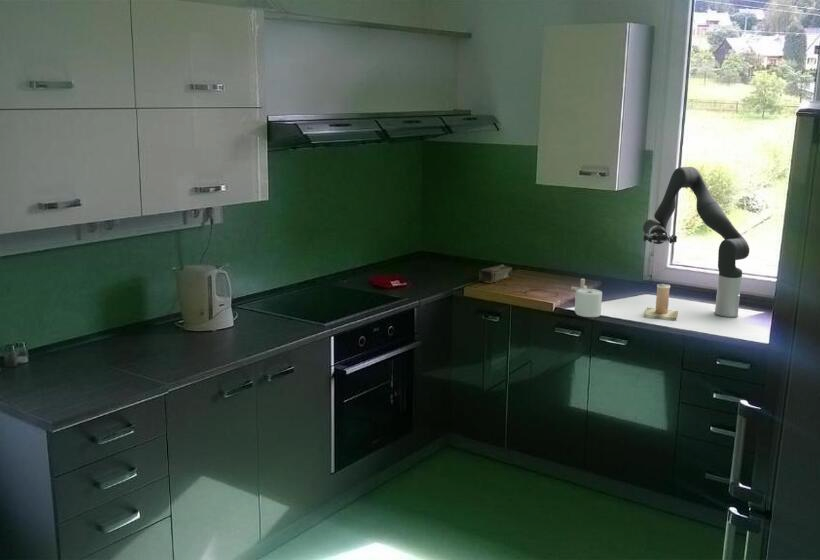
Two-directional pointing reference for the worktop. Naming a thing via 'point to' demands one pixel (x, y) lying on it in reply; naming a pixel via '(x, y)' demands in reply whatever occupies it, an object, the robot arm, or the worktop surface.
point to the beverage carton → (495, 273)
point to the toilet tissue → (588, 302)
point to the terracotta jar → (662, 298)
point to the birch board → (652, 314)
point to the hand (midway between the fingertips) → (661, 240)
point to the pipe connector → (582, 286)
